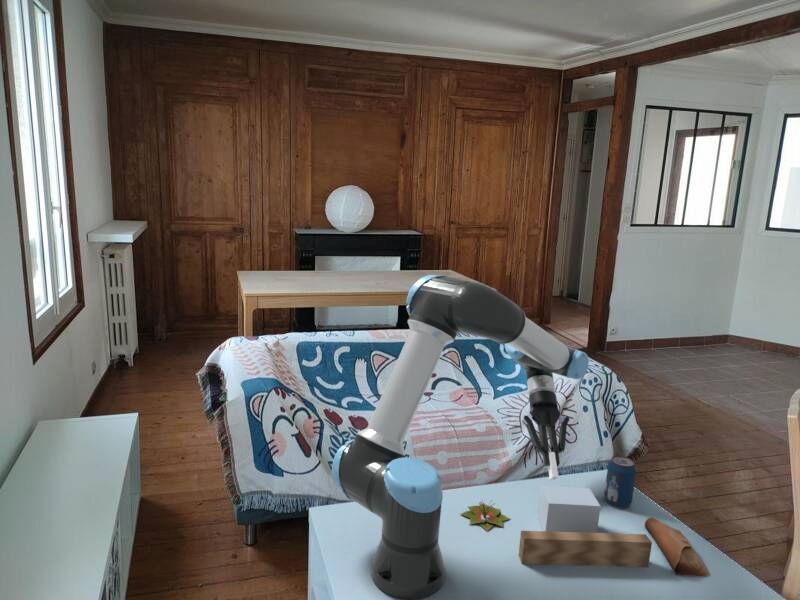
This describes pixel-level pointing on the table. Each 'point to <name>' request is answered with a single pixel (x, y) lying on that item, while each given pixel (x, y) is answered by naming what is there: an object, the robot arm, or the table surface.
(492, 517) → the lily flower
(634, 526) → the table surface
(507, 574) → the table surface
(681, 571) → the sunglasses case
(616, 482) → the soda can
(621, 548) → the walnut board
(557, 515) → the white block
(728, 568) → the table surface
